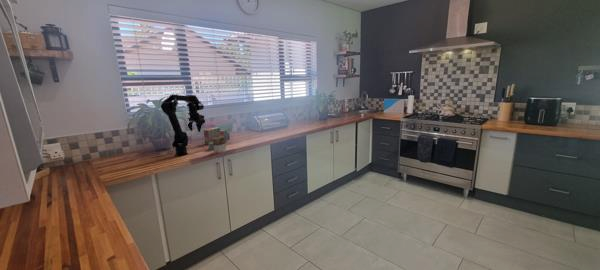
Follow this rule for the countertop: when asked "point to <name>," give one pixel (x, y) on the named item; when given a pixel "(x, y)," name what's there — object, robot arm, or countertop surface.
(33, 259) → the countertop surface
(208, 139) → the stack of blocks
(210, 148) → the slate brick
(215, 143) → the walnut brick
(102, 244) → the countertop surface
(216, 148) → the cream brick
